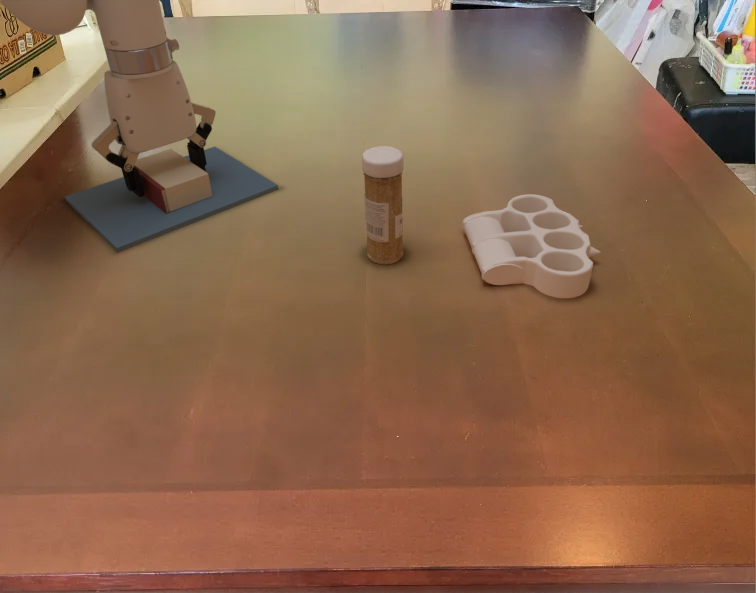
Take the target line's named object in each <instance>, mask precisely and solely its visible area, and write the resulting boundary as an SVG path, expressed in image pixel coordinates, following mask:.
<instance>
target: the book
mask: <svg viewBox="0 0 756 593" xmlns="http://www.w3.org/2000/svg"><path fill="white" fill-rule="evenodd" d="M184 157H185V156H183V155H181V154H180V153H178V152H177V151H175V150H174V149H172V148H169V149H166V150H163V151H159V152H156V153H154V154H150V155H146V156H143V157H141V158H137V160H136V162H135V165H134V167H135V168H136V169H137V170H138V171H139V174H140V178H141V182H142V186H143V189H144V193H145V195H144V196H145V197H146V198H147V199H149V200H150V201H151V202H152V203H154V204H155V205H156V206H157V207H159V208H160V209H161V210H162V211H163V212H165V213H166V214H167V213H169V212H171V211H174V210H177V209H179V208H182V207H185V206H187V205H190V204H193V203H196V202H198V201H201V200H204V199H206V198H209V197H212V191H211V186H210V180H209V175H208V173H206V172H205V171H203V170H202V169H201V168H199V167H198V166H196V165H195V164H193V163H192V162H190V161H189V160H187V159H186V158H184Z"/></svg>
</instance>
